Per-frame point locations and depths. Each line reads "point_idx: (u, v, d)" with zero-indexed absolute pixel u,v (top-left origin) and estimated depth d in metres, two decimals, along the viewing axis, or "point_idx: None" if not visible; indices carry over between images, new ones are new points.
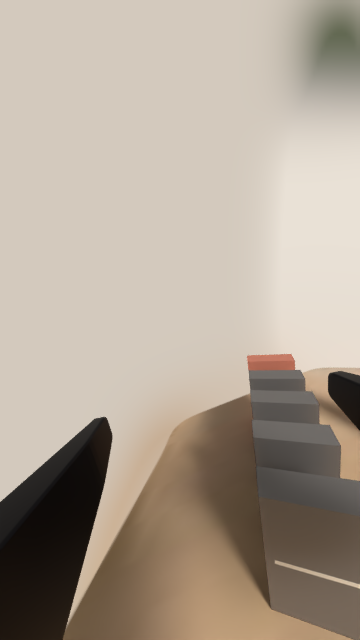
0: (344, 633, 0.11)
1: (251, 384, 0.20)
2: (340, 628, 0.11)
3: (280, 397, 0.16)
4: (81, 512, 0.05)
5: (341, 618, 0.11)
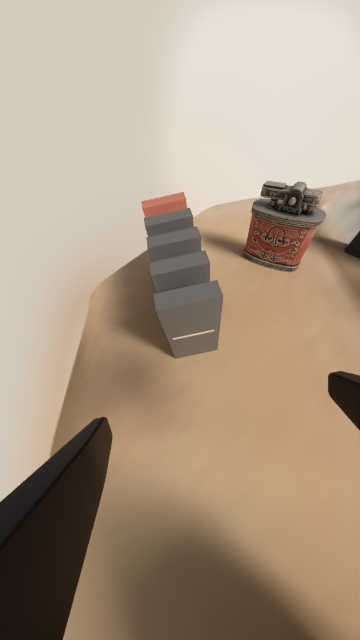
0: (207, 350, 0.22)
1: (148, 232, 0.20)
2: (206, 350, 0.22)
3: (171, 237, 0.18)
4: (81, 512, 0.05)
5: (206, 346, 0.21)
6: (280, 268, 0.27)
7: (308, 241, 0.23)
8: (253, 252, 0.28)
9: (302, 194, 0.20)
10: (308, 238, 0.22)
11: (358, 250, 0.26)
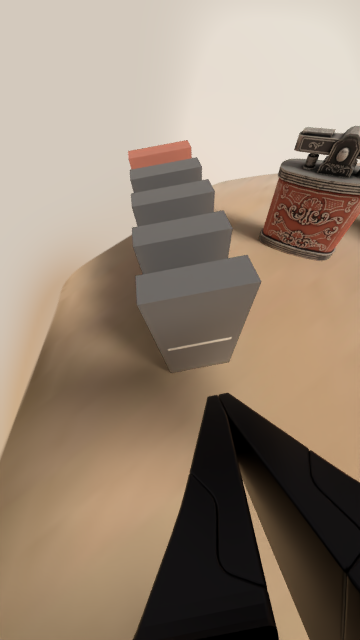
0: (216, 363, 0.16)
1: (135, 190, 0.14)
2: (214, 362, 0.16)
3: (169, 193, 0.12)
4: None
5: (215, 358, 0.15)
6: (308, 256, 0.21)
7: (354, 217, 0.17)
8: (274, 234, 0.22)
9: None
10: (356, 212, 0.16)
11: None
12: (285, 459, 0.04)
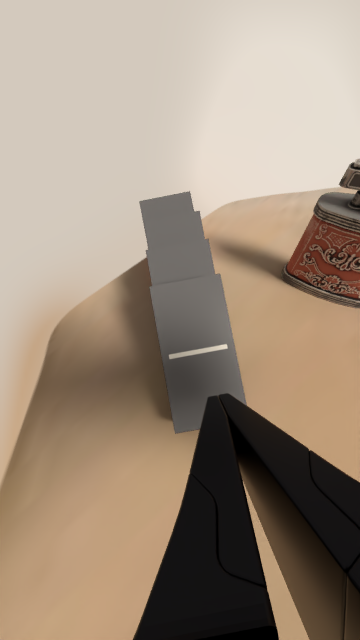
0: None
1: (142, 208, 0.18)
2: None
3: None
4: None
5: None
6: (344, 302, 0.17)
7: None
8: (301, 275, 0.18)
9: None
10: None
11: None
12: (285, 459, 0.04)
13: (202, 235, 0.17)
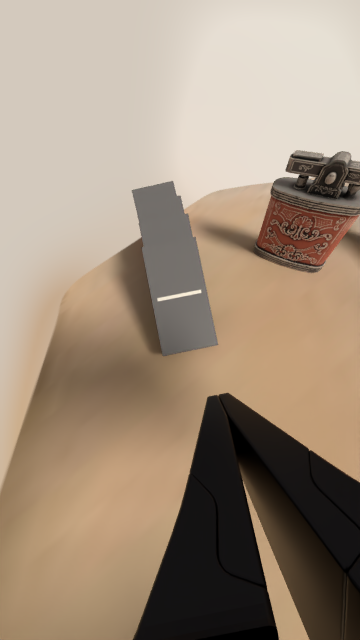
0: (205, 344, 0.17)
1: (134, 195, 0.22)
2: (202, 340, 0.17)
3: None
4: None
5: (200, 330, 0.17)
6: (300, 268, 0.22)
7: (343, 234, 0.18)
8: (267, 247, 0.22)
9: (347, 167, 0.14)
10: (344, 230, 0.17)
11: None
12: (285, 459, 0.04)
13: None
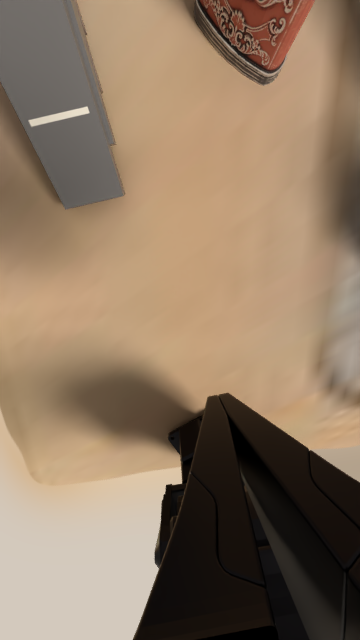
0: (109, 195, 0.16)
1: None
2: (105, 190, 0.15)
3: None
4: None
5: (100, 175, 0.15)
6: (249, 72, 0.15)
7: (309, 2, 0.11)
8: (210, 8, 0.13)
9: None
10: None
11: None
12: (285, 459, 0.04)
13: None
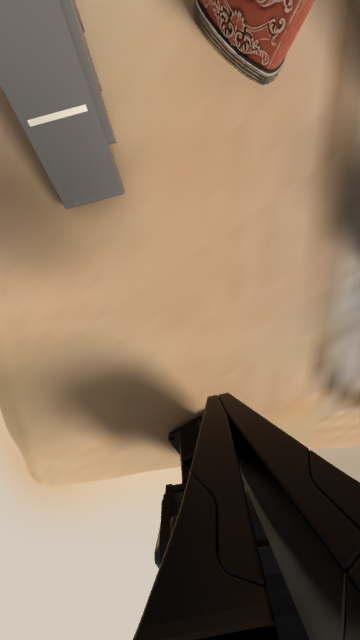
0: (109, 193, 0.16)
1: None
2: (105, 189, 0.15)
3: None
4: None
5: (99, 174, 0.15)
6: (248, 72, 0.15)
7: (309, 2, 0.11)
8: (210, 7, 0.13)
9: None
10: None
11: None
12: (285, 459, 0.04)
13: None
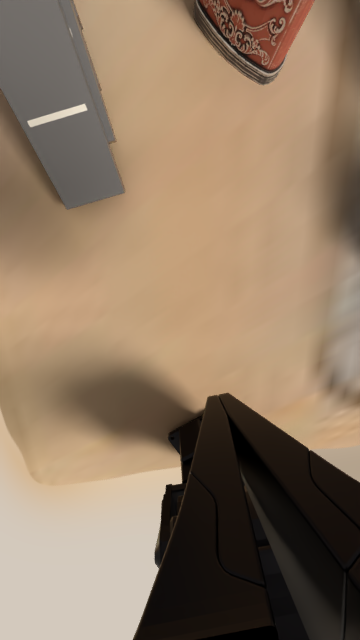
0: (109, 192, 0.16)
1: None
2: (105, 188, 0.15)
3: None
4: None
5: (100, 173, 0.15)
6: (249, 72, 0.15)
7: (309, 2, 0.11)
8: (210, 7, 0.13)
9: None
10: None
11: None
12: (285, 459, 0.04)
13: None
